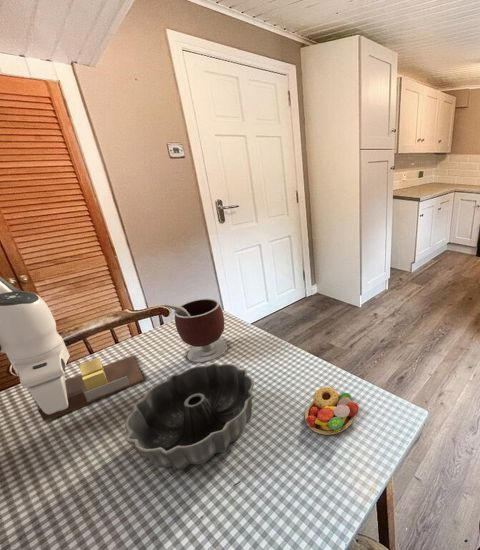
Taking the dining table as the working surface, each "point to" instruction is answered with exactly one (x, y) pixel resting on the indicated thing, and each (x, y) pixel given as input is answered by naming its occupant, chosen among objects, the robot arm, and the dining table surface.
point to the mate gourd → (201, 328)
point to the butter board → (111, 376)
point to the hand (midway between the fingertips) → (63, 404)
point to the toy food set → (330, 411)
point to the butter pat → (95, 380)
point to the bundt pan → (191, 415)
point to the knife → (86, 396)
